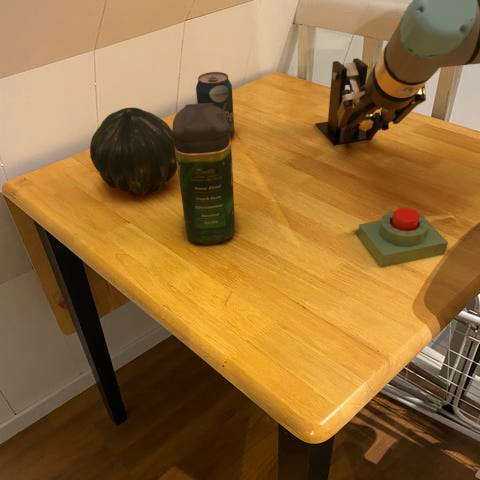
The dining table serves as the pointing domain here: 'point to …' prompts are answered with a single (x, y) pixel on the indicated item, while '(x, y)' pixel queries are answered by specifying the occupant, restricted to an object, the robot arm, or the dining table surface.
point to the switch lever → (351, 81)
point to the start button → (405, 219)
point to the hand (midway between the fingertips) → (356, 134)
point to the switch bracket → (336, 98)
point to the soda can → (217, 94)
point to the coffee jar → (205, 172)
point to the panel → (400, 241)
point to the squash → (134, 151)
